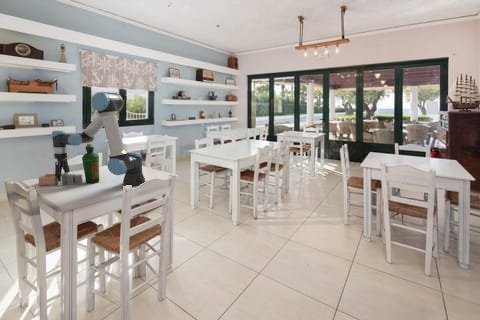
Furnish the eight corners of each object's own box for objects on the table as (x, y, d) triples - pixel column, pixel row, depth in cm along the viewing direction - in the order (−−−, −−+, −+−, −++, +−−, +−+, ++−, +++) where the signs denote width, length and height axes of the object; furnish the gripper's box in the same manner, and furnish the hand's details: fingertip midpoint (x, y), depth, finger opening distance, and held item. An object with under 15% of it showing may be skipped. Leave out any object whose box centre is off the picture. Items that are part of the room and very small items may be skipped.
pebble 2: (82, 182, 198) (82, 174, 197) (81, 183, 195) (81, 175, 193) (76, 182, 197) (75, 174, 196) (75, 184, 193) (74, 175, 192)
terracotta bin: (61, 181, 199) (60, 173, 198) (55, 185, 189) (54, 176, 188) (46, 181, 197) (45, 173, 196) (39, 185, 187) (38, 177, 186)
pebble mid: (76, 182, 197) (75, 173, 196) (73, 184, 193) (72, 175, 192) (69, 182, 197) (68, 173, 195) (66, 184, 193) (65, 175, 191)
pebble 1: (68, 182, 196) (67, 173, 195) (66, 184, 192) (65, 174, 191) (61, 182, 196) (60, 173, 194) (59, 184, 191) (57, 174, 190)
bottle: (101, 183, 196) (98, 144, 191) (84, 185, 191) (80, 145, 186) (100, 179, 205) (97, 143, 200) (84, 181, 200) (80, 143, 195)
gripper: (61, 150, 200) (64, 179, 204) (46, 155, 178) (50, 188, 182) (72, 150, 201) (75, 178, 206) (59, 155, 179) (62, 187, 184)
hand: (63, 183), depth 194 cm, fingers open, 10 cm apart
